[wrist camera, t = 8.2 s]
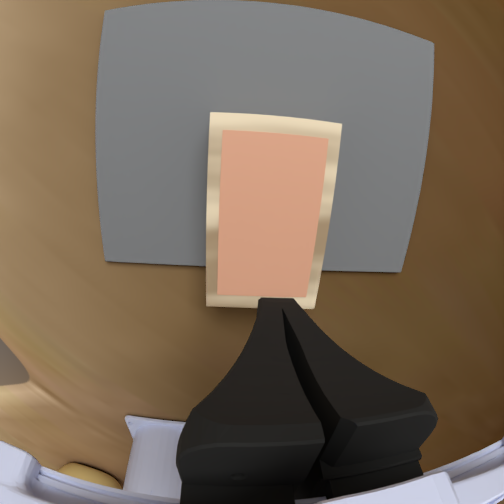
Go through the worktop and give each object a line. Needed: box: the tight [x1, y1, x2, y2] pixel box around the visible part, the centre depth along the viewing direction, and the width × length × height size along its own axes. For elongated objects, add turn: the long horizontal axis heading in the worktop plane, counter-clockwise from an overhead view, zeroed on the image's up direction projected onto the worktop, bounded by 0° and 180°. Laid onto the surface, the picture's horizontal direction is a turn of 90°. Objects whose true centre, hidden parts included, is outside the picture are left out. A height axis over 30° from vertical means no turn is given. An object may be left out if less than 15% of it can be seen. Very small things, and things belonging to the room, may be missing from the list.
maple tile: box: [206, 112, 342, 309], centre depth 16 cm, size 3×6×10 cm
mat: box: [96, 0, 434, 272], centre depth 16 cm, size 16×20×1 cm
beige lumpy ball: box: [57, 463, 122, 490], centre depth 29 cm, size 11×12×11 cm
